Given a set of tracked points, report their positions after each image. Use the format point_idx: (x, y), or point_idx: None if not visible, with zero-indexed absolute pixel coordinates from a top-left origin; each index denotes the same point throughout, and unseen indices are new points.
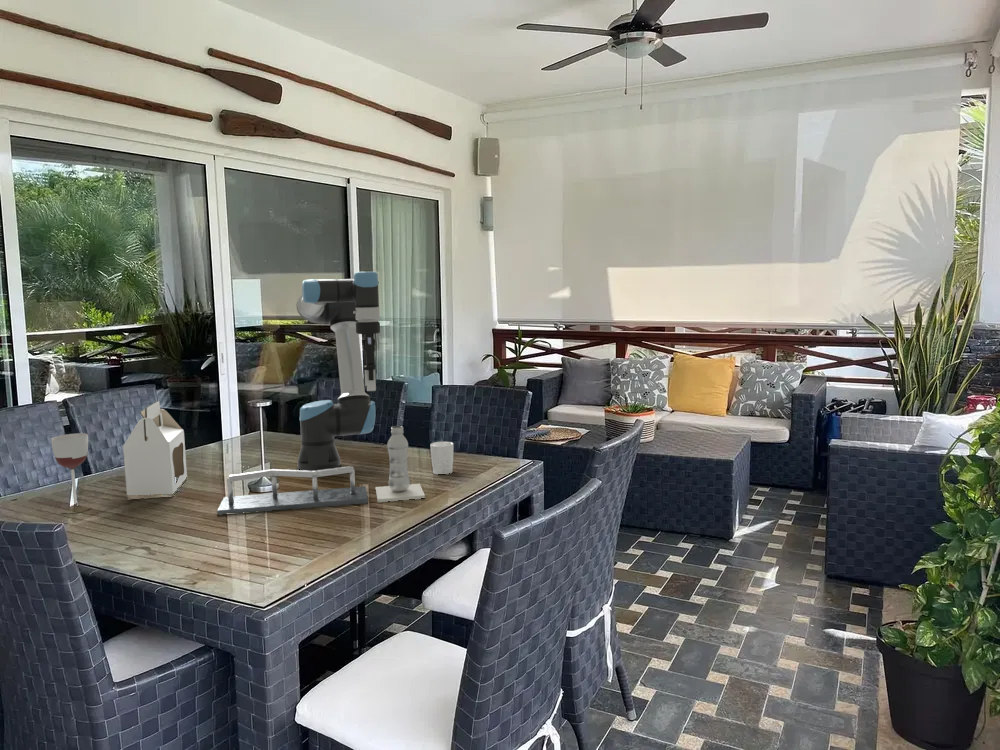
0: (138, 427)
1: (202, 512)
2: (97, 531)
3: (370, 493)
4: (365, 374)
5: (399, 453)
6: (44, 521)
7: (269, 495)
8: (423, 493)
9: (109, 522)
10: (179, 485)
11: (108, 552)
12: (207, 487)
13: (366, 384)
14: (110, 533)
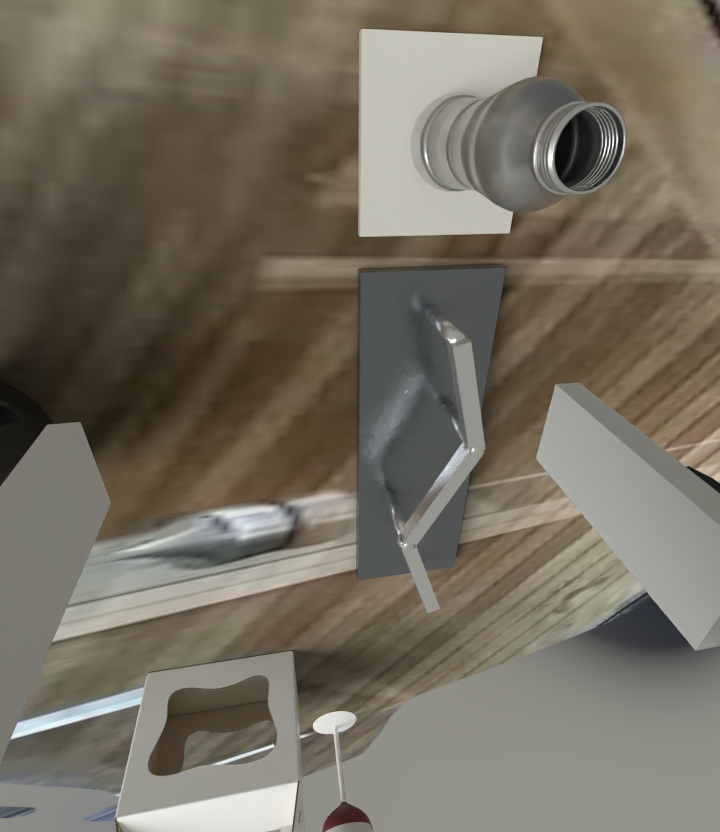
0: None
1: None
2: (461, 664)
3: (392, 253)
4: (57, 613)
5: (559, 143)
6: (383, 726)
7: (376, 507)
8: (514, 38)
9: (421, 669)
10: (230, 667)
11: (564, 623)
12: (223, 626)
13: (103, 500)
14: (479, 649)
